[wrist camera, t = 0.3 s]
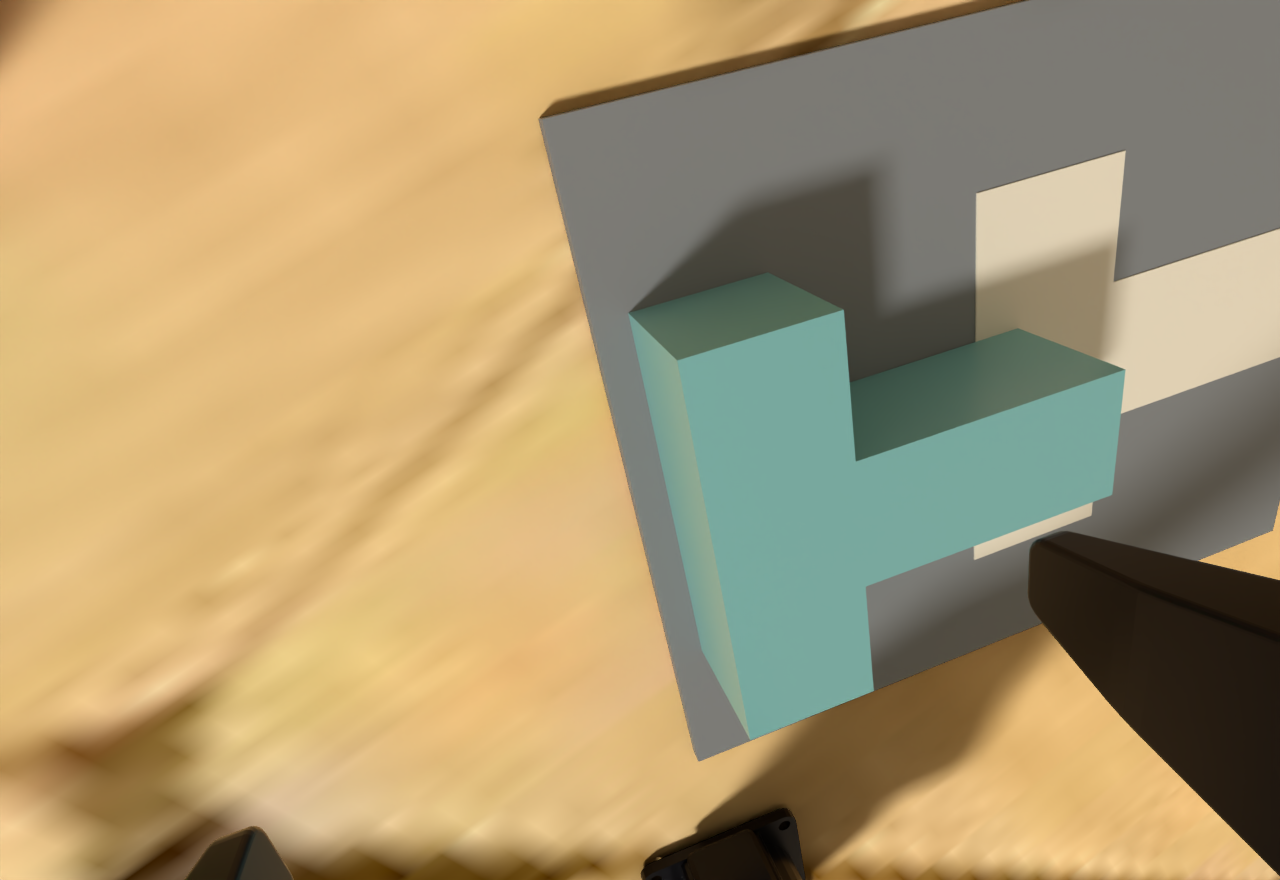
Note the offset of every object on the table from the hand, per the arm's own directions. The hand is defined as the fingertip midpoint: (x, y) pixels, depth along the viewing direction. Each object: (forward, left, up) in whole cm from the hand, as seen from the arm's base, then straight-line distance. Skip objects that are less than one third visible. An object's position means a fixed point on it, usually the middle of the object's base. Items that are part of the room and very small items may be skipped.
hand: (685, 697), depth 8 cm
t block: (-6, -9, -13) cm, 17 cm away
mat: (-6, -15, -13) cm, 21 cm away
